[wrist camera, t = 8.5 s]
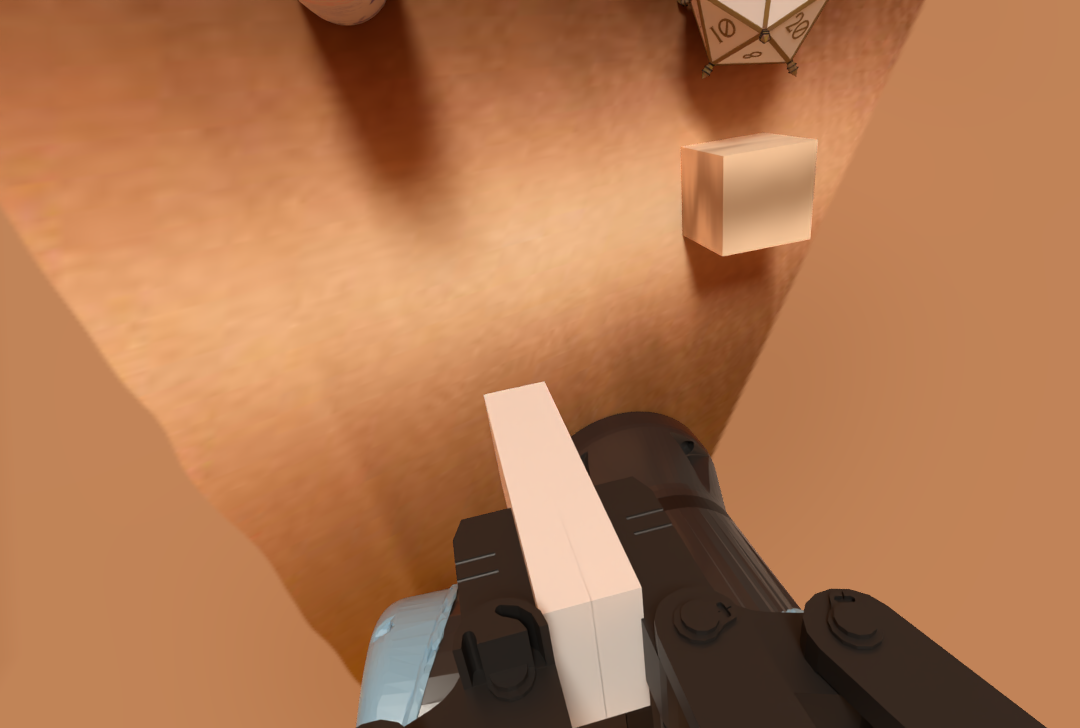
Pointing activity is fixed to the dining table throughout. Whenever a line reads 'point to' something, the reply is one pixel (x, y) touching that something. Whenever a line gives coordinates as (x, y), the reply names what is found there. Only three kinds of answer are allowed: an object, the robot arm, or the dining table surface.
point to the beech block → (748, 191)
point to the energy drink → (344, 10)
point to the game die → (753, 30)
